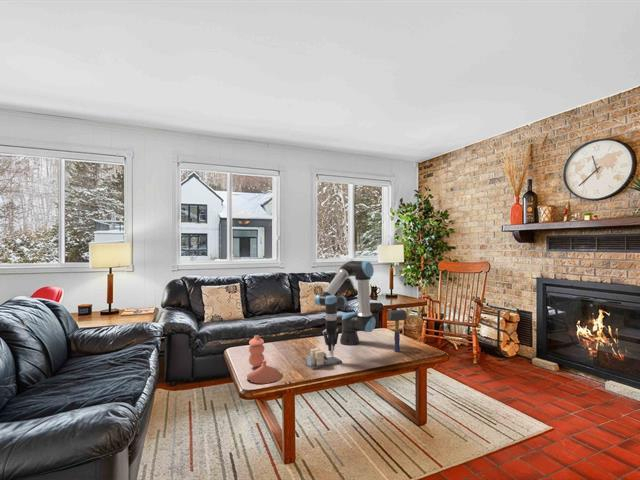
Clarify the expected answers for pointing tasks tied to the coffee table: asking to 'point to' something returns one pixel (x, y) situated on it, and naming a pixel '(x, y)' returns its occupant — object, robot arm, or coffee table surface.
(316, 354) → the block
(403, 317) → the rubber mallet
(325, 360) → the jaw slide
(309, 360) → the vise
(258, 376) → the ceramic vessels
